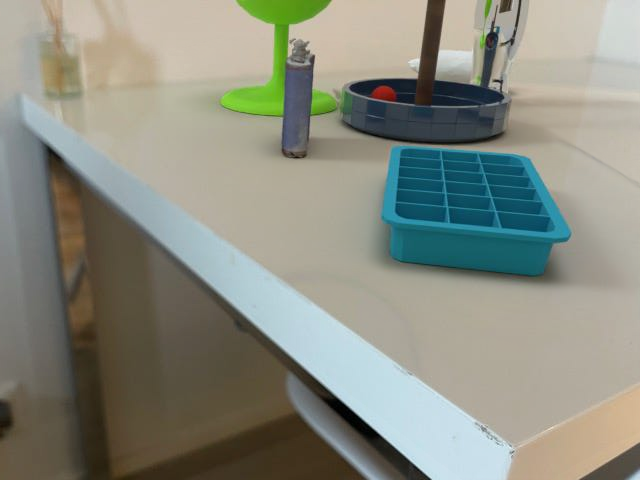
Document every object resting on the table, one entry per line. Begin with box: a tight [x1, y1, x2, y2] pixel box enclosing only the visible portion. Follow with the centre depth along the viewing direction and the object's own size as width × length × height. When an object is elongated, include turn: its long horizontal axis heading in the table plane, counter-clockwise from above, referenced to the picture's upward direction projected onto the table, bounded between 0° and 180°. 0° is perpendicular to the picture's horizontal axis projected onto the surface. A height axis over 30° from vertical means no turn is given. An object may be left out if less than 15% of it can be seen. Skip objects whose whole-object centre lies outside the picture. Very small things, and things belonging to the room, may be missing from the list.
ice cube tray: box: [380, 145, 573, 277], centre depth 50 cm, size 12×20×3 cm, turn 167°
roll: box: [407, 49, 472, 83], centre depth 105 cm, size 6×12×6 cm, turn 74°
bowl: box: [339, 77, 513, 144], centre depth 80 cm, size 20×20×4 cm
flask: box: [281, 37, 316, 159], centre depth 68 cm, size 9×3×11 cm, turn 173°
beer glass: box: [469, 0, 531, 94], centre depth 92 cm, size 7×7×15 cm
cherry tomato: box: [371, 86, 396, 102], centre depth 84 cm, size 3×3×3 cm
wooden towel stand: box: [414, 0, 447, 106], centre depth 78 cm, size 5×5×14 cm
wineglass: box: [220, 0, 338, 117], centre depth 87 cm, size 16×16×18 cm
